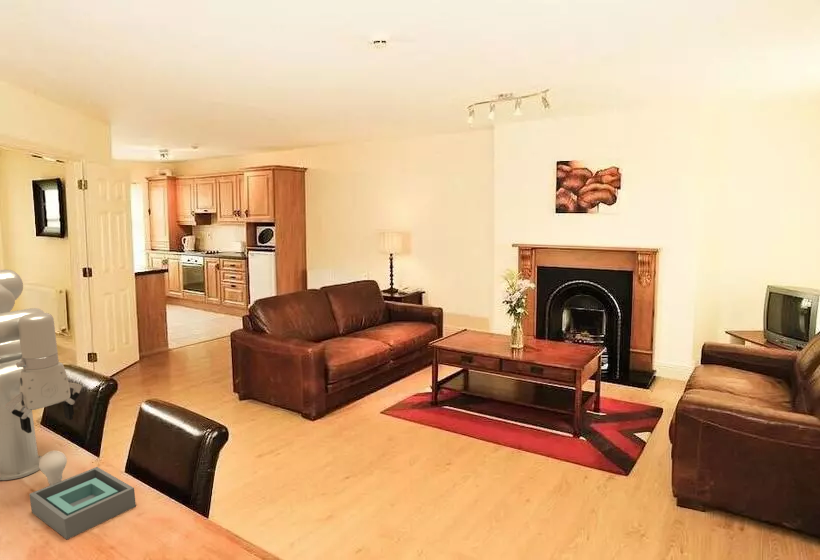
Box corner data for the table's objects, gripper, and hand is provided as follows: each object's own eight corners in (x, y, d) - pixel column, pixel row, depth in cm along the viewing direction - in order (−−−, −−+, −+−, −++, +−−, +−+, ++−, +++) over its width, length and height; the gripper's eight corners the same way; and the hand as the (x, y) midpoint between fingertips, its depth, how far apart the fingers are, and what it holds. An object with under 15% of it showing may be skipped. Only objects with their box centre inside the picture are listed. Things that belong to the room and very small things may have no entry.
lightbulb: (56, 498, 141) (51, 458, 139) (37, 495, 142) (31, 456, 140) (75, 485, 147) (70, 447, 145) (56, 483, 148) (51, 445, 146)
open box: (135, 506, 136) (134, 487, 136) (66, 539, 124) (64, 519, 123) (98, 484, 147) (96, 466, 146) (31, 512, 134) (29, 493, 134)
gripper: (6, 373, 129) (16, 441, 132) (83, 355, 143) (90, 416, 146) (-6, 368, 134) (4, 433, 136) (70, 350, 148) (77, 410, 150)
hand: (48, 424), depth 141 cm, fingers open, 9 cm apart
